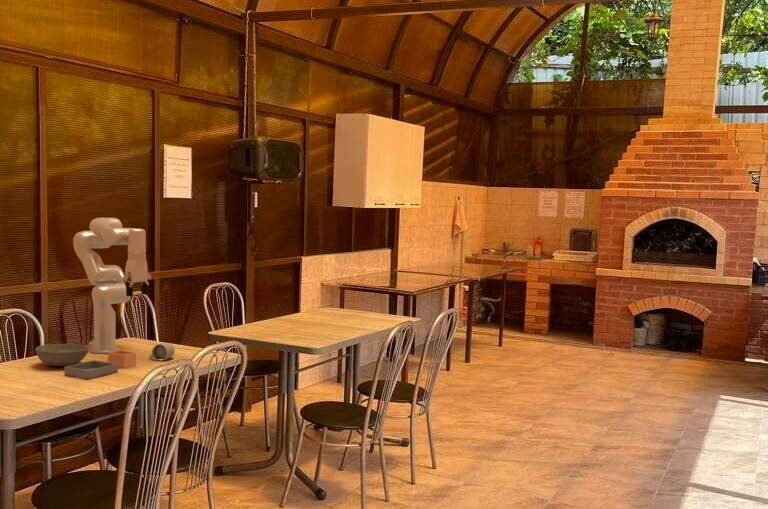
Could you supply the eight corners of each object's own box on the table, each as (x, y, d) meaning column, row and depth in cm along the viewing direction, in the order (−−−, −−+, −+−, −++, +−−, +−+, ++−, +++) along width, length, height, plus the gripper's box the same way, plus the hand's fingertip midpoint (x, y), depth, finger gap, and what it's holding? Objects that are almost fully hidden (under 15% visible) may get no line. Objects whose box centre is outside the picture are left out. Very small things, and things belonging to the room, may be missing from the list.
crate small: (108, 366, 320) (108, 352, 319) (120, 363, 326) (120, 350, 326) (124, 369, 316) (124, 355, 316) (135, 366, 322) (136, 352, 322)
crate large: (64, 375, 301) (64, 366, 301) (93, 368, 315) (93, 360, 315) (89, 379, 296) (89, 370, 296) (117, 372, 310) (118, 363, 310)
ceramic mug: (175, 358, 341) (175, 341, 340) (166, 361, 333) (166, 344, 332) (154, 357, 343) (154, 340, 343) (145, 360, 335) (145, 343, 335)
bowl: (26, 364, 319) (26, 346, 318) (74, 358, 334) (75, 340, 334) (48, 373, 304) (48, 353, 304) (97, 366, 320) (97, 347, 319)
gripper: (143, 255, 339) (143, 293, 340) (116, 257, 323) (116, 296, 324) (156, 256, 337) (157, 293, 337) (130, 257, 321) (130, 297, 321)
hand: (137, 295), depth 331 cm, fingers open, 9 cm apart
